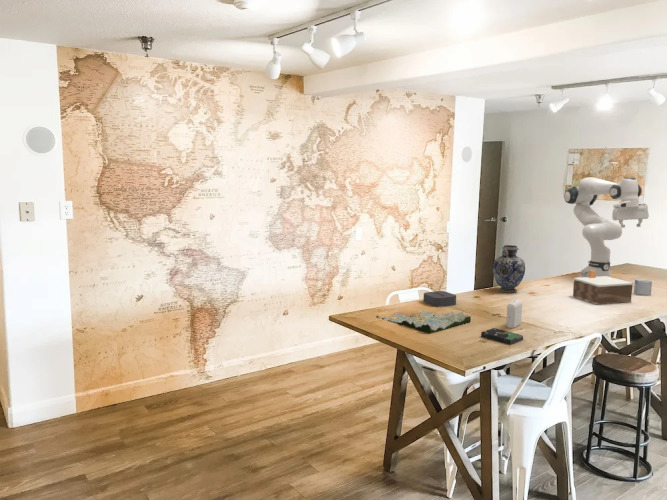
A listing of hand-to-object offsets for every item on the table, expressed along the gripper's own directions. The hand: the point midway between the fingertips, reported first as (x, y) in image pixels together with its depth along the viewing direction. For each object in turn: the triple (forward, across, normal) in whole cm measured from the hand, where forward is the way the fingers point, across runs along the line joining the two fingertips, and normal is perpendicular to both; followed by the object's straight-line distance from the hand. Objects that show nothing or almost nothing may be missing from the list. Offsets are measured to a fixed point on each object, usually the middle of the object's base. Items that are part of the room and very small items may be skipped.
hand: (630, 227), depth 316 cm
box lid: (+30, +26, +17) cm, 43 cm away
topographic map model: (+40, +137, +56) cm, 153 cm away
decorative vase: (+36, +73, -6) cm, 82 cm away
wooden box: (+40, +27, +16) cm, 51 cm away
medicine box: (+40, -3, +5) cm, 41 cm away
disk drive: (+44, +107, +86) cm, 144 cm away
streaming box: (+37, +121, +23) cm, 129 cm away
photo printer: (+42, +95, +67) cm, 124 cm away
